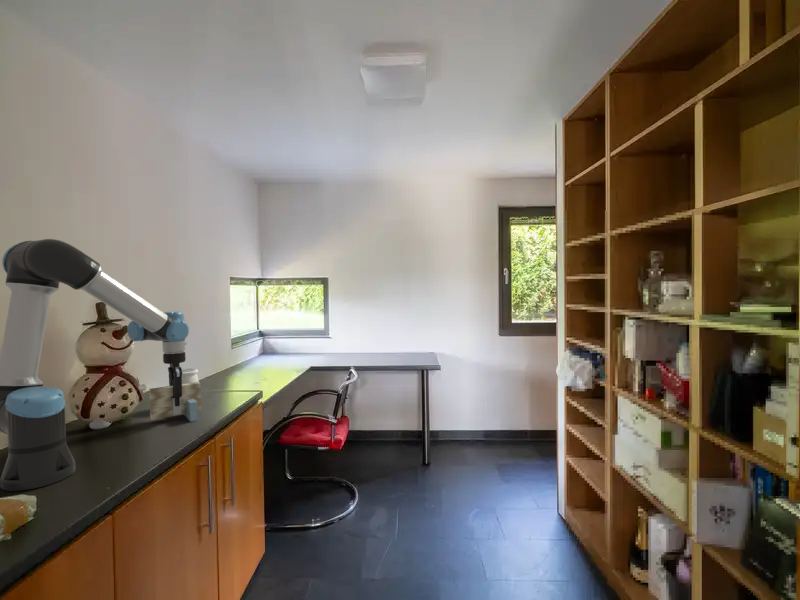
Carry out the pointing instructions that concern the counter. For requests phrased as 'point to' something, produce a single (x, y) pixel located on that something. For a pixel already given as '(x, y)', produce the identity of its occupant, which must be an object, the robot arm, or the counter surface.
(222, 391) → the counter surface
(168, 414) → the birch plate
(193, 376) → the jar
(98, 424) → the beverage can
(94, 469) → the counter surface
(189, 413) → the blue board
